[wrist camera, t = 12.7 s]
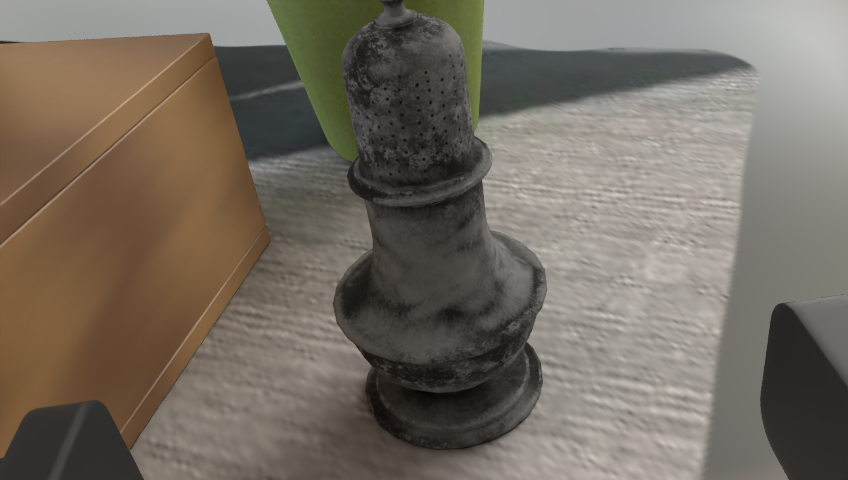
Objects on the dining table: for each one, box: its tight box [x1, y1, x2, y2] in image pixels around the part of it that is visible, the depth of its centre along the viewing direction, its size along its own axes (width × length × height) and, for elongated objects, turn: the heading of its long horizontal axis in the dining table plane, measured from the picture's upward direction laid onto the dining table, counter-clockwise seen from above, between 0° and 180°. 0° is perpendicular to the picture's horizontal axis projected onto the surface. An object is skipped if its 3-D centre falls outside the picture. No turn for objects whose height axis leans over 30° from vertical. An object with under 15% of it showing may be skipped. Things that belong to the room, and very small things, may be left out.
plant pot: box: [267, 0, 484, 162], centre depth 35 cm, size 12×12×11 cm
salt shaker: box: [333, 0, 547, 449], centre depth 20 cm, size 6×6×12 cm
